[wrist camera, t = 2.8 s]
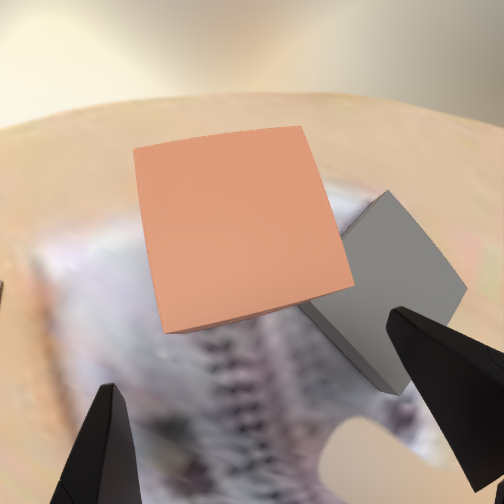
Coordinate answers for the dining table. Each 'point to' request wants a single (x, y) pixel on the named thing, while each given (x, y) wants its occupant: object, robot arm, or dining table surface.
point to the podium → (385, 290)
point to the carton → (236, 227)
